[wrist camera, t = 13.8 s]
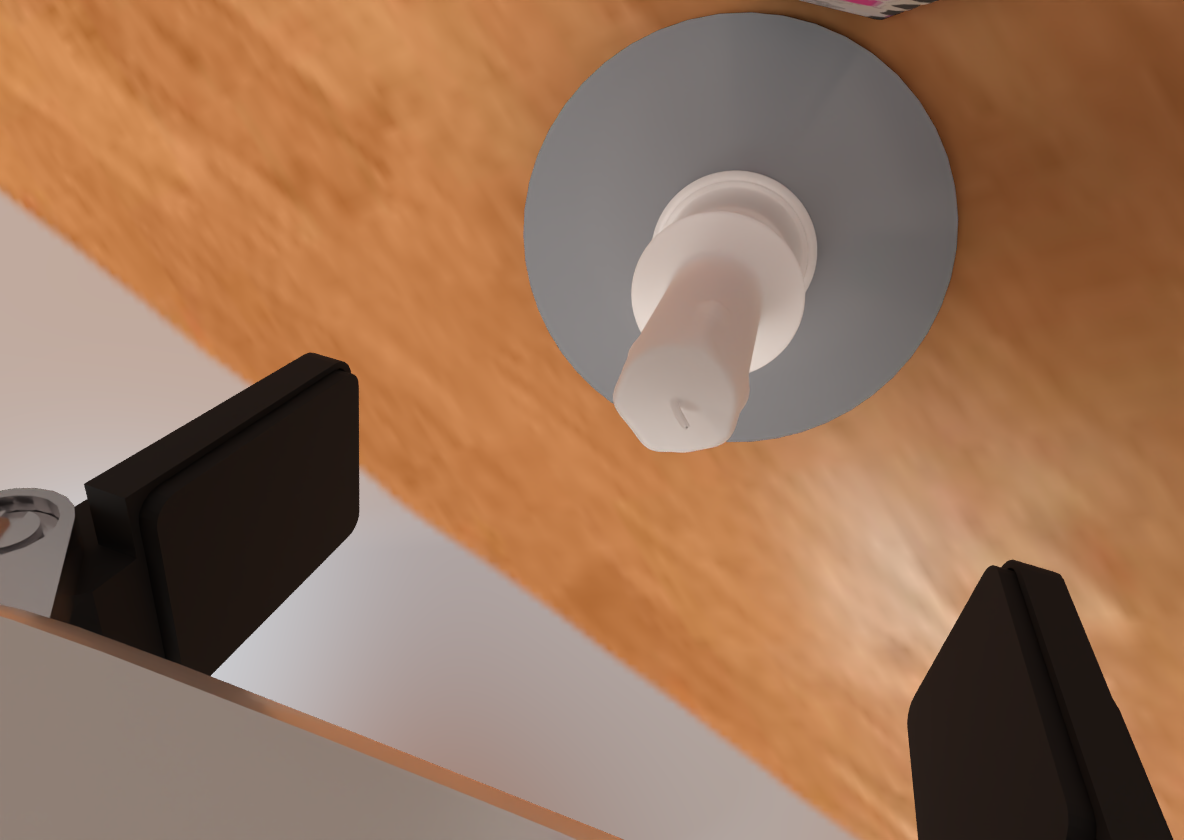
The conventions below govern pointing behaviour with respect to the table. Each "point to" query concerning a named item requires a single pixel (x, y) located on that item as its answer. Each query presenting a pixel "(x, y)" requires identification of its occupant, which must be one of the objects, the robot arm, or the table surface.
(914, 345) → the slate plate
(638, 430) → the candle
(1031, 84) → the table surface
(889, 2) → the candy bar box
